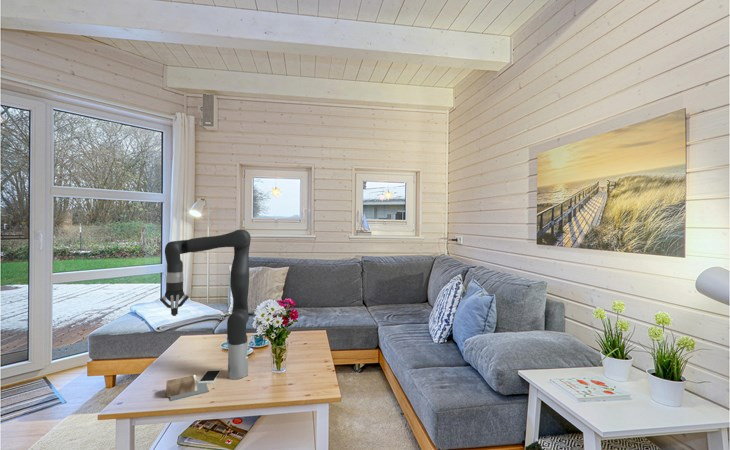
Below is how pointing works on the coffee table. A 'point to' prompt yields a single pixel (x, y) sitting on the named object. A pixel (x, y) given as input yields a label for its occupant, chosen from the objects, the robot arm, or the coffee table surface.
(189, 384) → the brown wooden block
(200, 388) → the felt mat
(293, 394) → the coffee table surface
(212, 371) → the smartphone
